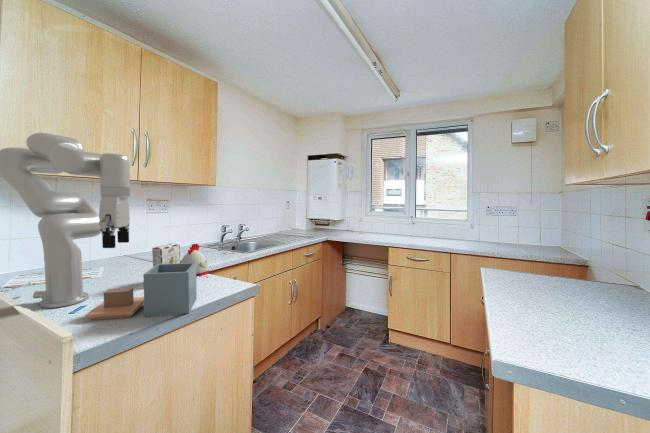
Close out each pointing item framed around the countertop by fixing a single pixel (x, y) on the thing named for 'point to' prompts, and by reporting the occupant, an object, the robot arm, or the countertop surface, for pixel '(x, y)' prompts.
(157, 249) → the candy bar box
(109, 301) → the lid
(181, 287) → the box
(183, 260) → the kitchen timer
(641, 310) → the countertop surface
